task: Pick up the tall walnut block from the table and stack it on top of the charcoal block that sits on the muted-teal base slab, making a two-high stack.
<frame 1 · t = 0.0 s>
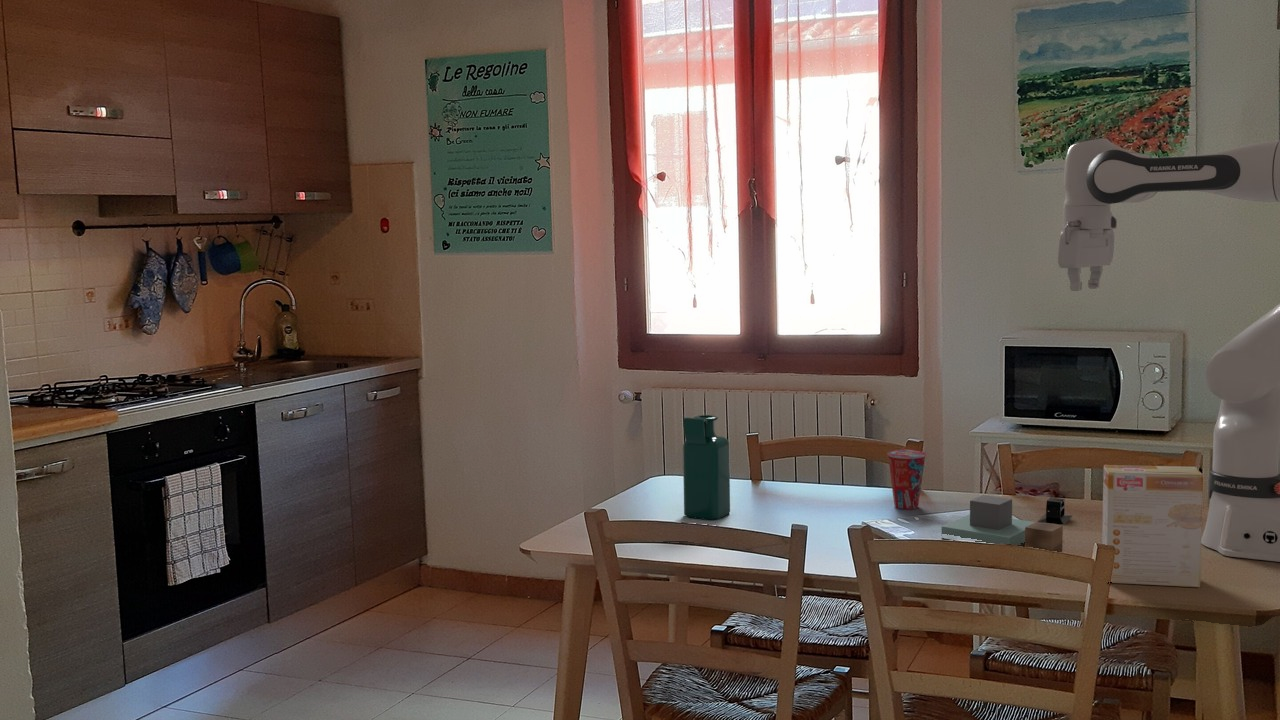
hand: (1085, 289, 234), 48 cm above the table, fingers open, 8 cm apart
black rectangular block: (1055, 522, 243), on the table
base slab: (990, 537, 229), on the table
cup: (905, 507, 256), on the table
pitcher: (705, 516, 252), on the table
walnut block: (1043, 558, 214), on the table
coffeecake box: (1149, 581, 200), on the table
charcoal block: (990, 524, 229), point 2 cm above the table, touching base slab
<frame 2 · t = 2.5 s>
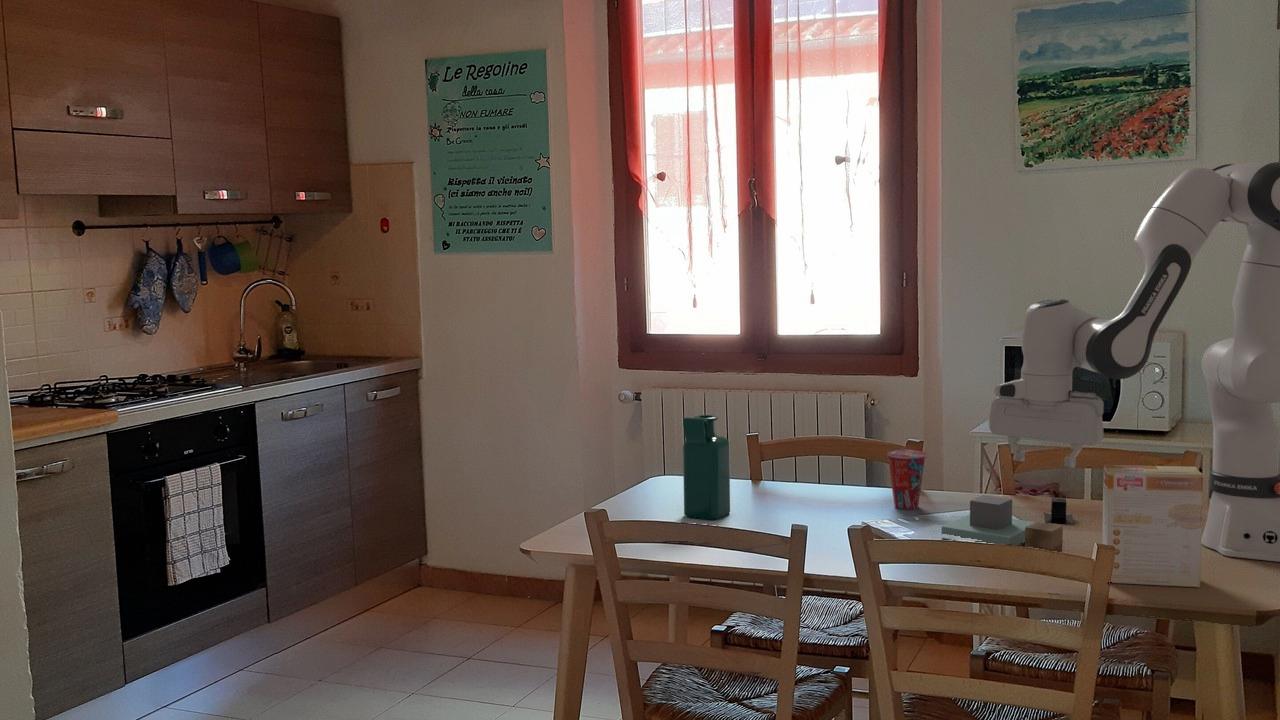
hand: (1044, 463, 212), 18 cm above the table, fingers open, 8 cm apart
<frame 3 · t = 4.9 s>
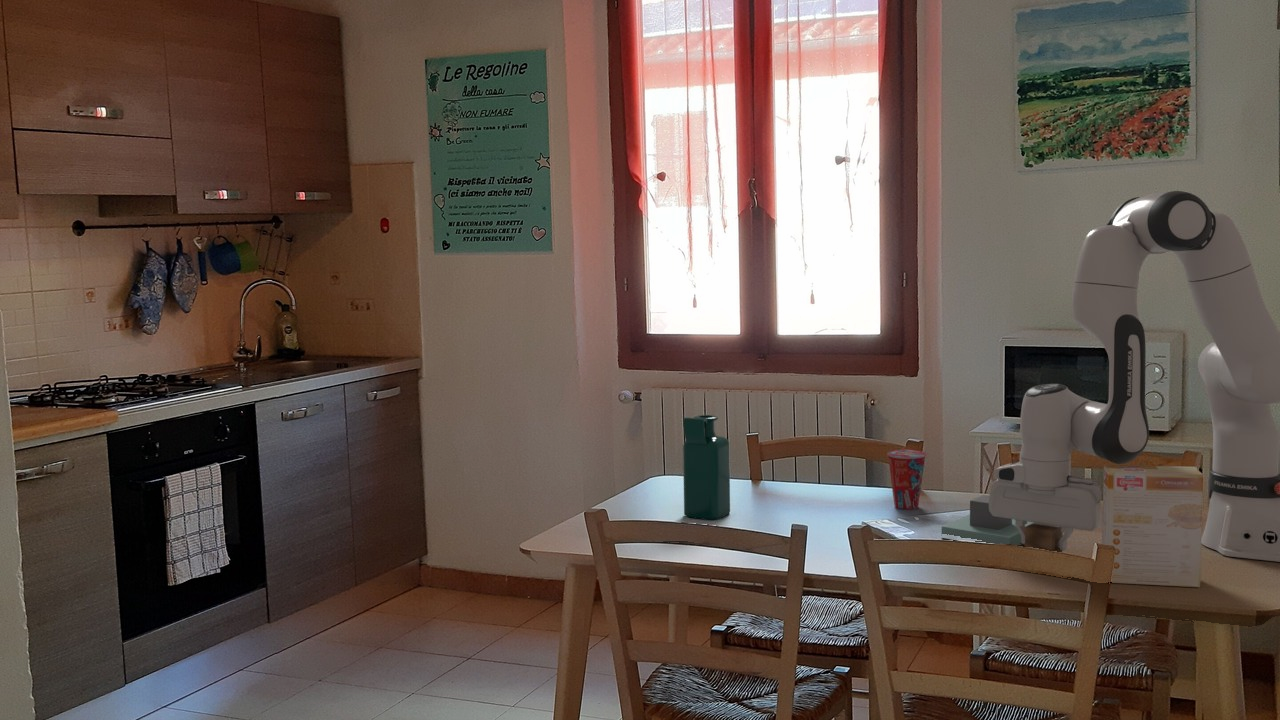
hand: (1043, 546, 214), 2 cm above the table, fingers closed on walnut block, 5 cm apart
walnut block: (1043, 557, 214), on the table, touching gripper
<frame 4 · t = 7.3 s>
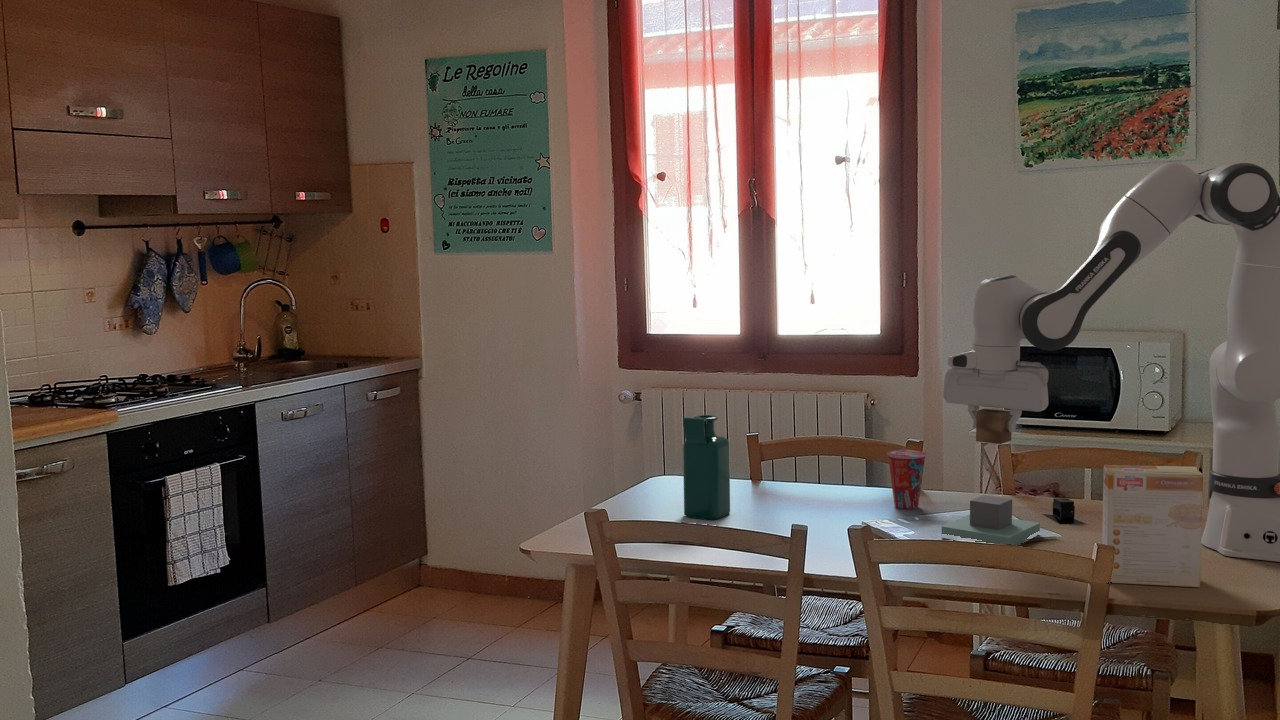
hand: (993, 430, 226), 22 cm above the table, fingers closed on walnut block, 5 cm apart
walnut block: (993, 440, 226), point 20 cm above the table, touching gripper
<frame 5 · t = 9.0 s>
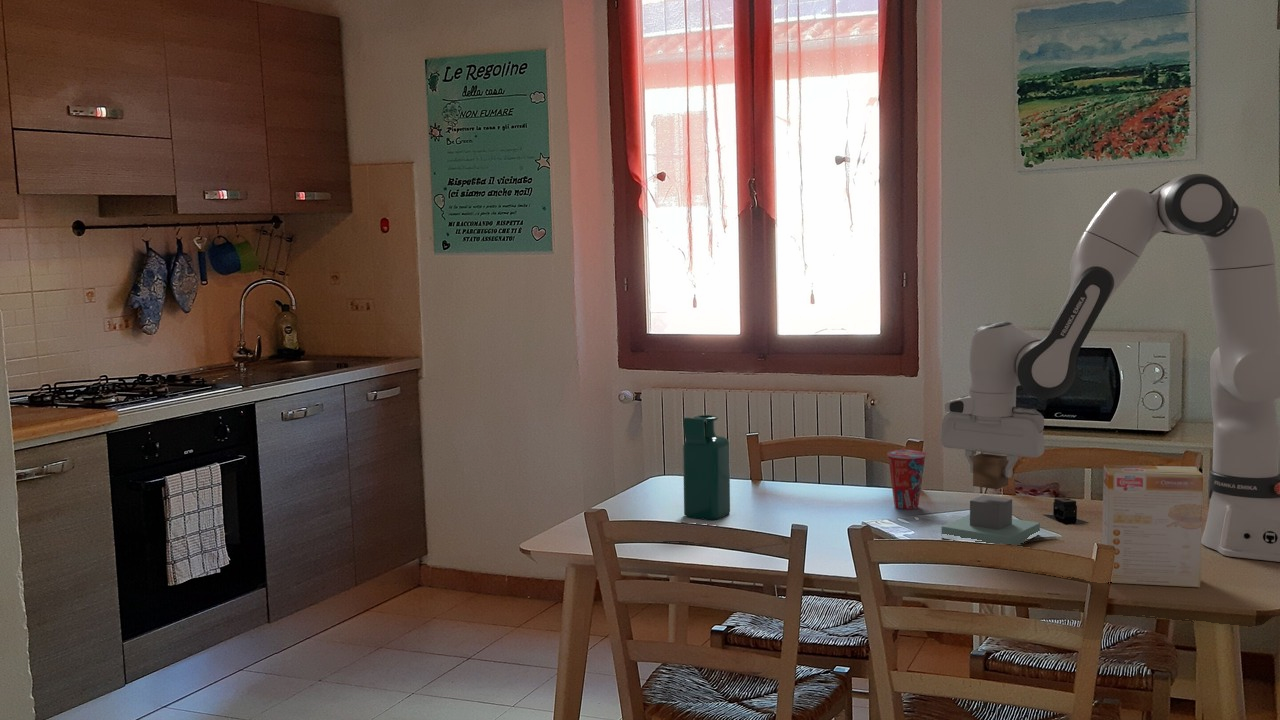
hand: (990, 474, 228), 13 cm above the table, fingers closed on walnut block, 5 cm apart
walnut block: (990, 485, 228), point 10 cm above the table, touching gripper
when the fingers open (11 cm above the table, at t = 10.2 s): walnut block stays where it is, resting on charcoal block.
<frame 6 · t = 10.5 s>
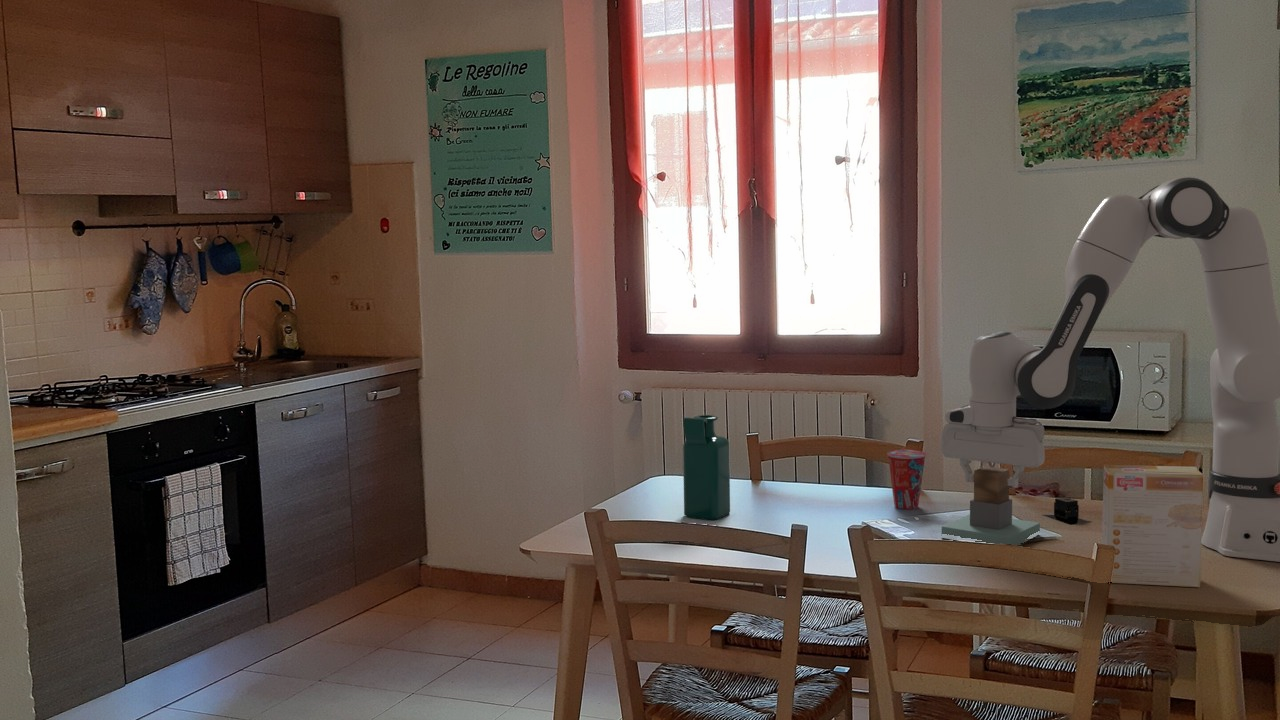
hand: (991, 484, 228), 11 cm above the table, fingers open, 7 cm apart
walnut block: (991, 499, 229), point 7 cm above the table, touching charcoal block
charcoal block: (990, 524, 229), point 2 cm above the table, touching base slab, walnut block
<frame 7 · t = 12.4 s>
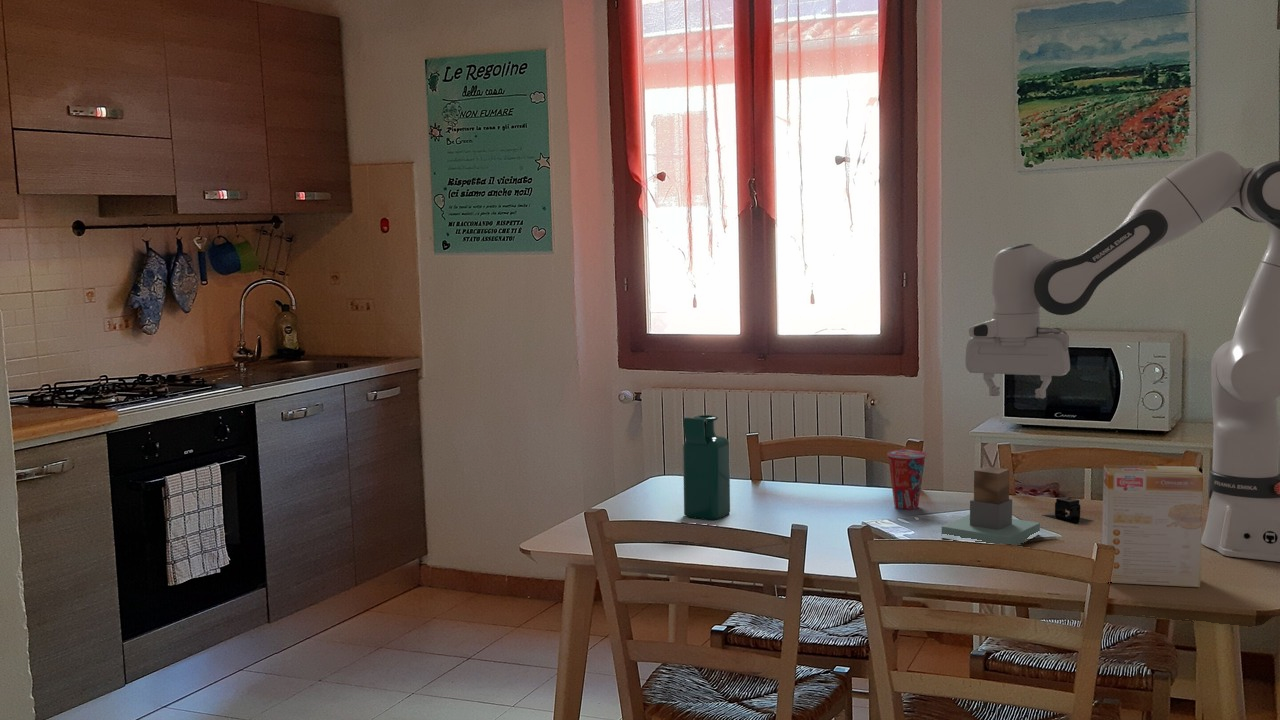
hand: (1017, 396, 230), 27 cm above the table, fingers open, 8 cm apart
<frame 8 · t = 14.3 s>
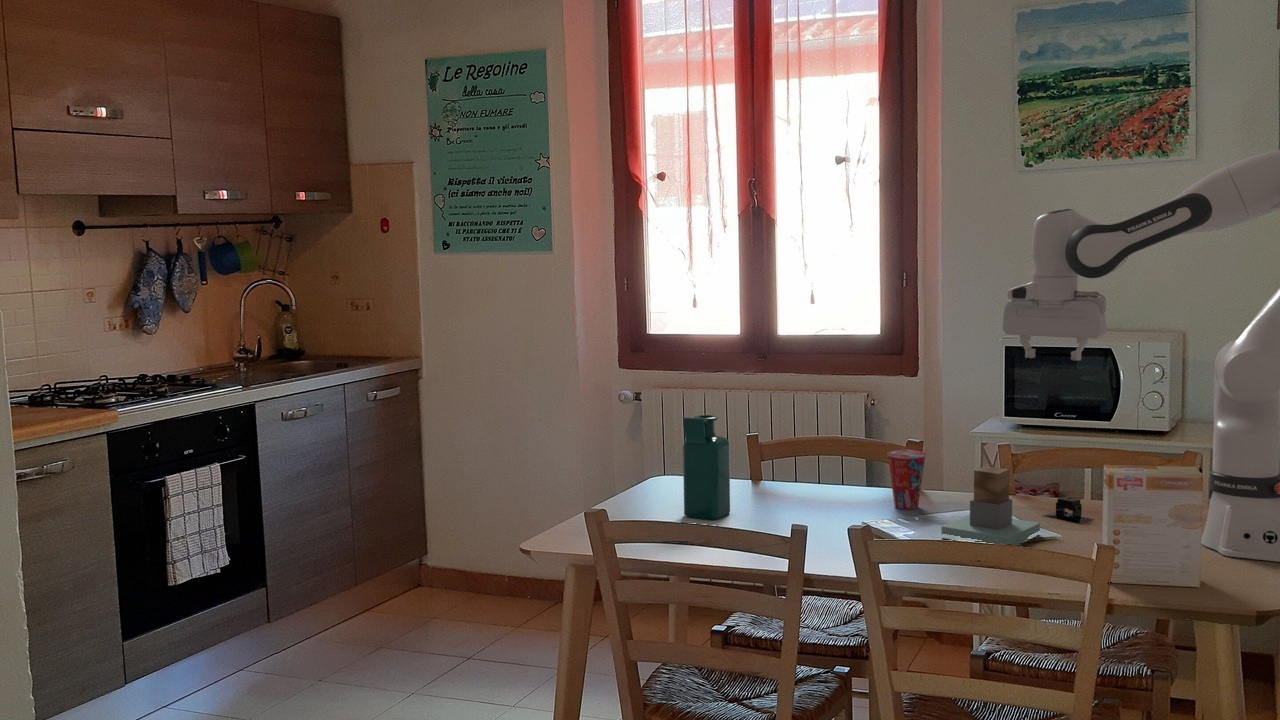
hand: (1052, 359, 235), 34 cm above the table, fingers open, 8 cm apart
at the end: walnut block 0.1 cm off-centre on the charcoal block, point 5.0 cm above the charcoal block's base; walnut block tilted 0°; the gripper is holding nothing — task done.
